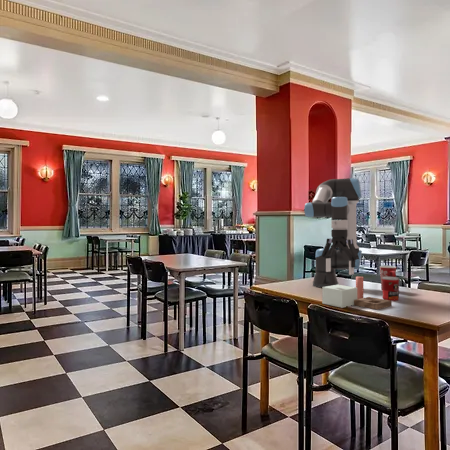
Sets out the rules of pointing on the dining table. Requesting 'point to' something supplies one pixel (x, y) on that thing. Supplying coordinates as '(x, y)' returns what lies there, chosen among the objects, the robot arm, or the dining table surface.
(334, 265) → the robot arm
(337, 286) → the block
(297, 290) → the dining table surface
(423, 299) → the dining table surface
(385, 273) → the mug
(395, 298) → the canned food
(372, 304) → the wooden square frame
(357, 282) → the peg
